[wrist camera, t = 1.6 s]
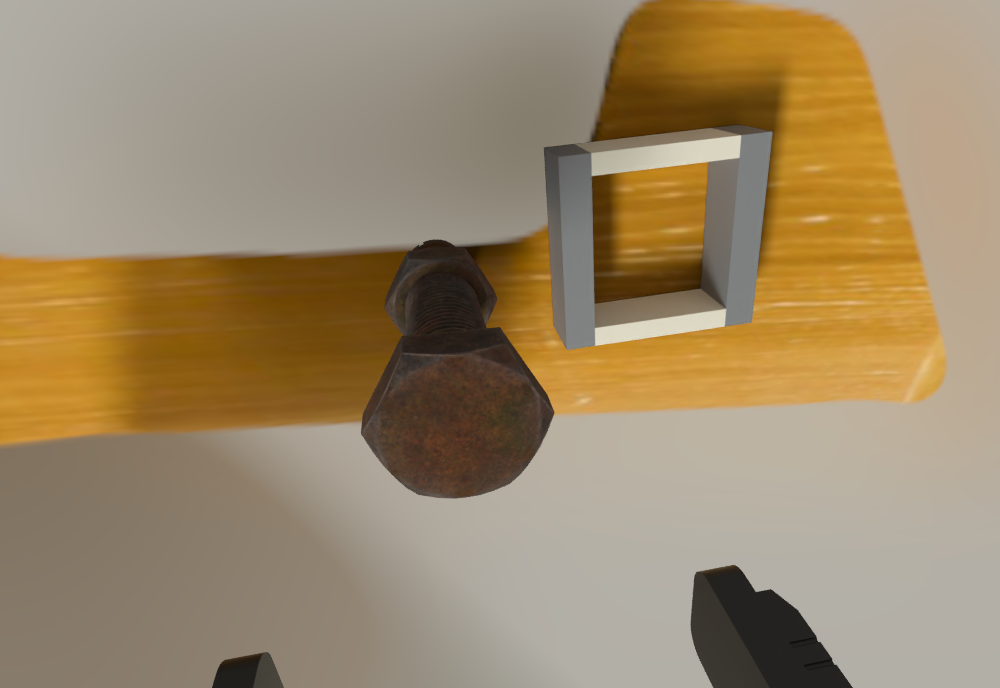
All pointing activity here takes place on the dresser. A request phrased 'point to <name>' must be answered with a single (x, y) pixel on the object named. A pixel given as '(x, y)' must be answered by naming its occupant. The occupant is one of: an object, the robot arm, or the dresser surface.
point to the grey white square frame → (726, 234)
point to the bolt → (452, 384)
